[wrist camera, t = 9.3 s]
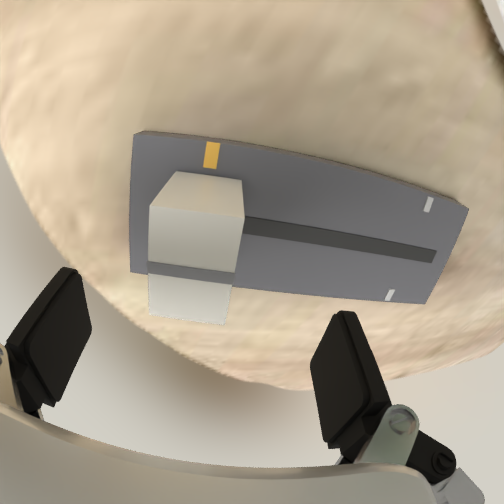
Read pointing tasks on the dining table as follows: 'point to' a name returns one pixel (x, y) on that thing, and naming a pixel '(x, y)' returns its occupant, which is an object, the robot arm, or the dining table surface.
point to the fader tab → (194, 247)
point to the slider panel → (307, 219)
